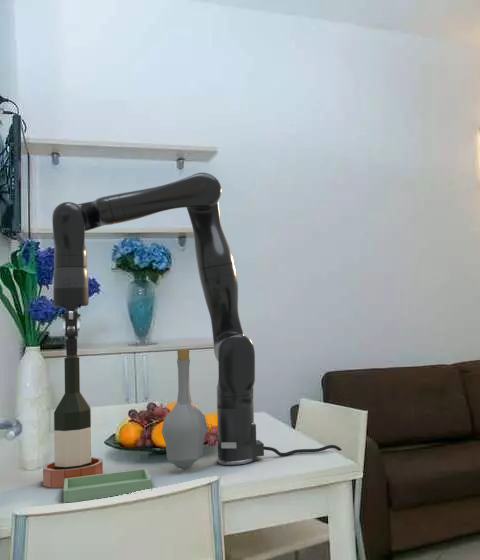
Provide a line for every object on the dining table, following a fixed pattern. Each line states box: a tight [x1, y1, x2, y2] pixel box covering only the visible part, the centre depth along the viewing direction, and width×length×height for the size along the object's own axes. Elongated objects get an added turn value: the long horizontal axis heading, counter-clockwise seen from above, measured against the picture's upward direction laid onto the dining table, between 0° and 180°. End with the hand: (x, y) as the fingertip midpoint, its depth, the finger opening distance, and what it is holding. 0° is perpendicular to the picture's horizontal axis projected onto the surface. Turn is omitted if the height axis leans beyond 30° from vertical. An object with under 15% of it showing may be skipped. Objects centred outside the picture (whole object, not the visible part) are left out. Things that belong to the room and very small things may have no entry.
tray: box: [62, 467, 152, 504], centre depth 152 cm, size 17×11×3 cm, turn 116°
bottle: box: [161, 348, 208, 471], centre depth 169 cm, size 11×11×30 cm
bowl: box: [42, 456, 104, 489], centre depth 162 cm, size 13×13×4 cm
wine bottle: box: [53, 353, 92, 470], centre depth 162 cm, size 8×8×30 cm
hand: (71, 354), depth 162 cm, fingers open, 8 cm apart
